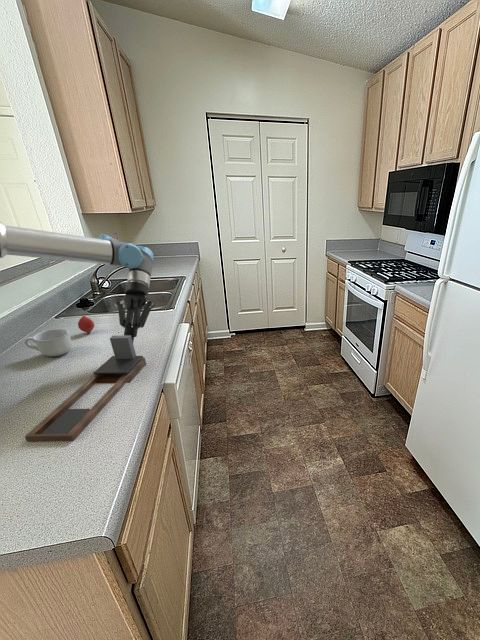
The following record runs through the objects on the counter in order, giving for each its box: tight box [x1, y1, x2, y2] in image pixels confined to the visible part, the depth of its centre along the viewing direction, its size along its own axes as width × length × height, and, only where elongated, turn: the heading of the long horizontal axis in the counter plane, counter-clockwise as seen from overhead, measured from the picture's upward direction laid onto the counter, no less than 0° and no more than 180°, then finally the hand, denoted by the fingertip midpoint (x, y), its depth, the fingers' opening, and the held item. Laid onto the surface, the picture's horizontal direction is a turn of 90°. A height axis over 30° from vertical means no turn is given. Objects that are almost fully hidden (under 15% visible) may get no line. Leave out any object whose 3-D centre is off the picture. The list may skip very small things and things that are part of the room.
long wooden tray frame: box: [24, 356, 147, 443], centre depth 97 cm, size 42×11×3 cm, turn 1°
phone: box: [41, 408, 91, 434], centre depth 84 cm, size 11×6×1 cm, turn 1°
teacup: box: [24, 328, 73, 358], centre depth 123 cm, size 14×11×8 cm
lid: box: [93, 334, 144, 375], centre depth 107 cm, size 12×11×8 cm
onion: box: [77, 314, 95, 334], centre depth 142 cm, size 6×6×8 cm
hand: (128, 345), depth 115 cm, fingers closed
